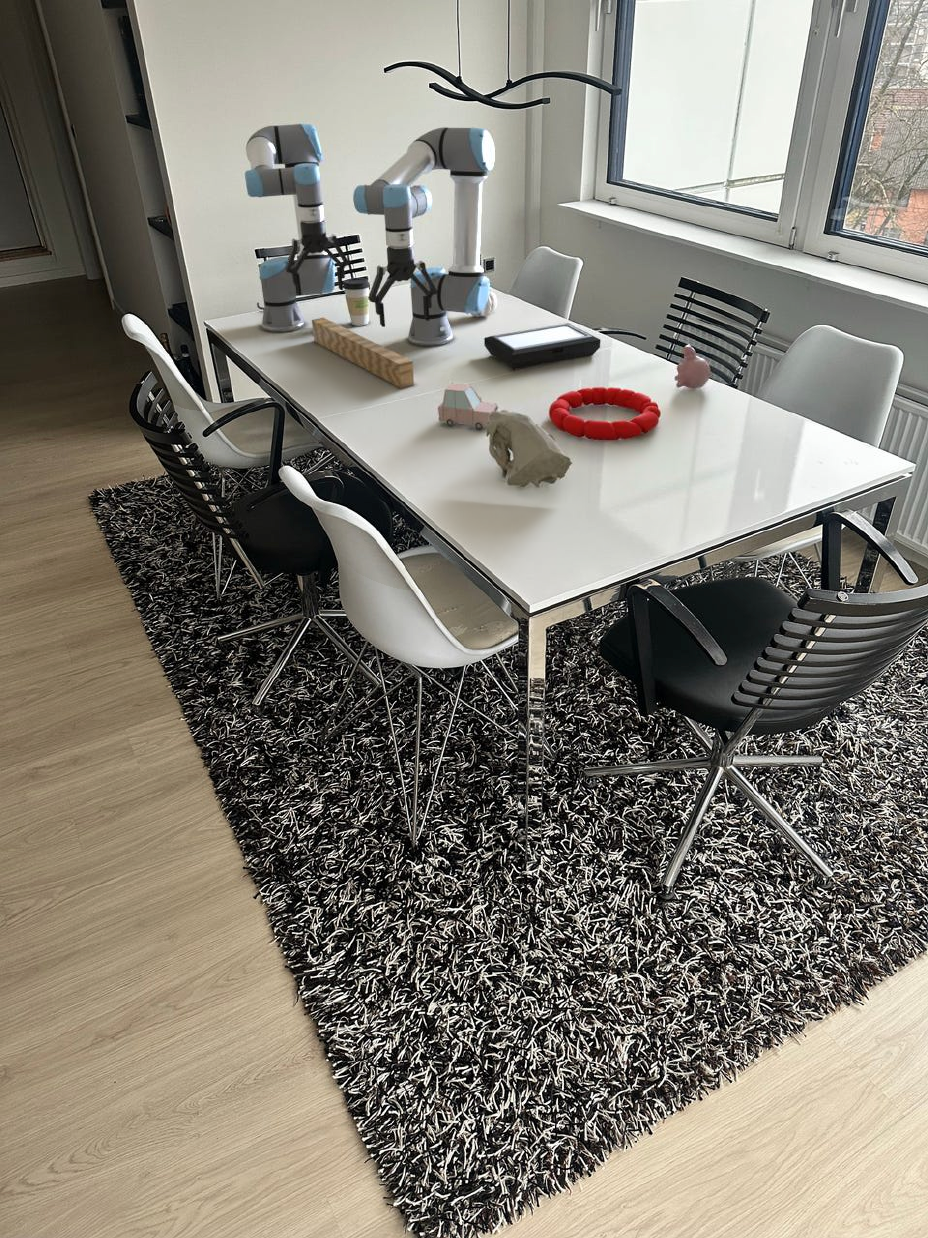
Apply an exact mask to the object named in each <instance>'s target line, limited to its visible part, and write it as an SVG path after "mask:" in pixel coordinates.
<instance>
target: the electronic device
mask: <svg viewBox="0 0 928 1238" xmlns="http://www.w3.org/2000/svg"><path fill="white" fill-rule="evenodd" d="M483 345H484V347H485V349H486V350H487V351H488V352H489V354H490V355H491V356H492V357H494V358H495V359H497V360H498V361H500V362H502V363H503V364H505V365H507V366H508V367H510V368H511V369H512V370H514V371H515V370H518V369H524V368H530V367H536V366H540V365H541V366H542V365H547V364H553V363H558V362H564V361H569V360H574V359H580V358H581V359H582V358H585V357H586V358H587V357H593V356H594V354H596V353H597V351H598V350H600V348H601V339H600V338H598V337H597V336H595V335H593V334H590V333H589V332H587V331H585V330H583V329H581V328H580V327H577V326H575V325H573V324H571V323H568V322H567V323H561V324H560V323H559V324H555V325H548V326H541V327H537V328H530V329H524V330H520V331H513V332H507V333H500V334H495V335H490V336H486V337H484V341H483Z"/></svg>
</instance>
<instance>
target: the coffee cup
mask: <svg viewBox="0 0 928 1238" xmlns="http://www.w3.org/2000/svg"><path fill="white" fill-rule="evenodd" d="M370 287H371V283H370V282H369V279H367V278H365V277H351V278H347V279H345V280H344V281H343V291H344V297H345V301H346V305H347V310H348V314H349V318H350V323H351V325H353V326H357V327H359V326H365V325H368V324H369V317H370V316H369V313H370V300H369V299H368V297H369V294H370Z"/></svg>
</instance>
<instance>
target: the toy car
mask: <svg viewBox="0 0 928 1238" xmlns="http://www.w3.org/2000/svg"><path fill="white" fill-rule="evenodd" d="M498 409H499V404H498V403H497V402H490V401H489V402H487V401H483V397H481V396H480V395H479V394H478V393H477V391H476V390H475V389H474V386H472V384H469V383H459V382H451V383H450V384H449V385H448V386H447V387H446V388H445V389H444V394H443V399H442V403H440V404H439V405H438V406H437V413H438V421H439V422H443V423H446V425H447V426H448V427H452V426H454V425H455V424H461V425H469V426H473V427H475V429H476V430H479V431H480V430H481V429H483V428H485V427H486V428H487V423H488V422H490V414H491V413H492V412H496V411H499V410H498Z"/></svg>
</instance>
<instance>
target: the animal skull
mask: <svg viewBox="0 0 928 1238" xmlns="http://www.w3.org/2000/svg"><path fill="white" fill-rule="evenodd" d="M485 436H486V438H487V437H489V438H488V440H489V444H488V445H489V446H488V450H489V454H490V456H491V457H492V458H493V459H494V460H495V462H496V464H497V466H499V468H500V470H501V471H502V472H501V478H502V479H507V480H506V484H507V486H517V487H518V486H519V488H523V489H524V488H526V486H527V485H529V483H531V485H533V486H534V487H536V488H540V485H541V484H542V482H544V483H549V484H550V485H553V484H555V483H556V482H557V480H561V479H563V478H565V476H566V474H567V472H568V471H569V469H570V467H571V466H572V464H573V462H572V461H571V458H570V457H568V456H567V455H565V453H564V451H562V449H561V448H560V446H559V444H557V443H556V439H555V438H554V436H553V435H551V434H550V433H548V432H547V431H546V430H545V429H544V428H542V427H541V426H539V425H538V424H537V423H536V424H535V422H534V421H533V419H532V418H531V417H530V416H529V415H527V414H524V413H519V412H515V411H509V410H507V409H502V410H500V411H499V410H497V411H496V412H492V413H491V414H490V422H488V423H487V427H486V435H485ZM511 453H512V454H511ZM511 455H512V457H513V458H512V460H511ZM507 474H508V475H507Z"/></svg>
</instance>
